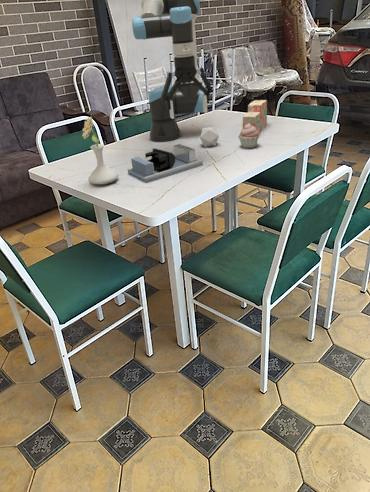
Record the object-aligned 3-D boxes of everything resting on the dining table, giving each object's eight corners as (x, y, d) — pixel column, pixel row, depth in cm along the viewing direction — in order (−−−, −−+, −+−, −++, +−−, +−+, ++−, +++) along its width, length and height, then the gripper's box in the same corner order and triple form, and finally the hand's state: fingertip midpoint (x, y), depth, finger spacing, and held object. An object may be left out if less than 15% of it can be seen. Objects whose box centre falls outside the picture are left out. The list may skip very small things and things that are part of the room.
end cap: (176, 167, 165) (174, 150, 161) (162, 173, 161) (160, 155, 157) (160, 163, 171) (158, 146, 168) (146, 168, 168) (144, 151, 164)
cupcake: (261, 148, 180) (261, 124, 175) (239, 150, 180) (239, 126, 175) (258, 142, 188) (258, 119, 183) (237, 144, 188) (236, 121, 184)
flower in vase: (91, 178, 167) (77, 112, 155) (120, 174, 167) (108, 109, 155) (86, 190, 155) (71, 121, 143) (117, 187, 156) (105, 117, 143)
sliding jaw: (174, 157, 175) (173, 145, 172) (185, 154, 177) (184, 142, 175) (190, 163, 167) (188, 151, 164) (201, 160, 169) (200, 147, 167)
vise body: (128, 174, 167) (125, 158, 164) (183, 157, 179) (181, 143, 176) (146, 183, 157) (143, 166, 154) (202, 165, 168) (201, 149, 165)
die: (213, 150, 186) (223, 130, 184) (195, 141, 185) (205, 121, 184) (212, 151, 194) (222, 132, 192) (195, 143, 193) (205, 123, 192)
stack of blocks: (255, 137, 196) (255, 109, 190) (242, 136, 198) (241, 109, 192) (266, 124, 213) (267, 99, 207) (254, 124, 215) (254, 99, 209)
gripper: (153, 61, 148) (160, 122, 159) (219, 52, 154) (222, 111, 165) (148, 59, 155) (155, 118, 165) (212, 50, 160) (215, 108, 171)
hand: (188, 115), depth 165 cm, fingers open, 13 cm apart
